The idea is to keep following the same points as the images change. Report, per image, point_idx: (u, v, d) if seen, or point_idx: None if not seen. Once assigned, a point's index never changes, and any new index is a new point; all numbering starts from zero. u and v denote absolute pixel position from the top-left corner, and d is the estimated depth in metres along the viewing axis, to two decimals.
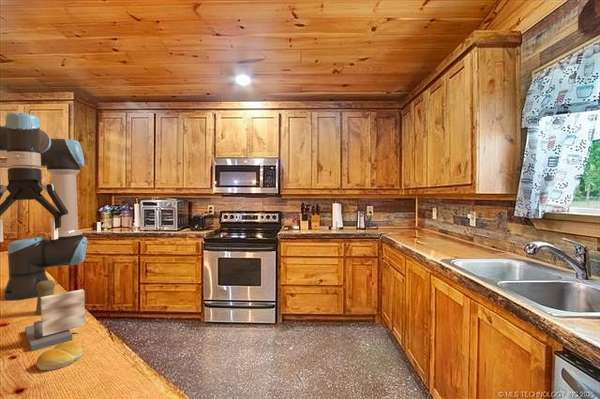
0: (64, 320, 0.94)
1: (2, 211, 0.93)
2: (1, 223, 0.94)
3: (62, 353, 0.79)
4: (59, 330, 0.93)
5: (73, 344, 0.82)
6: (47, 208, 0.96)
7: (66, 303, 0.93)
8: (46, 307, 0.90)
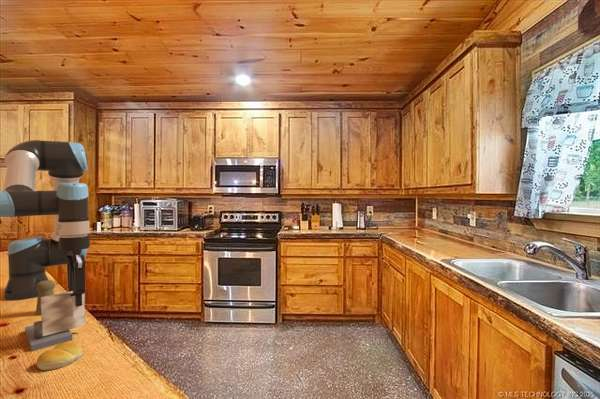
0: (64, 320, 0.94)
1: None
2: None
3: (62, 352, 0.79)
4: (59, 330, 0.93)
5: (73, 344, 0.83)
6: (72, 283, 0.94)
7: (66, 303, 0.93)
8: (46, 307, 0.90)
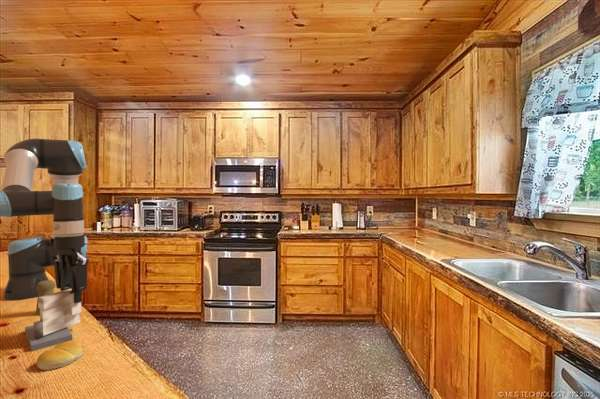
0: (62, 318, 0.95)
1: (67, 280, 0.99)
2: None
3: (62, 352, 0.79)
4: (58, 328, 0.94)
5: (73, 344, 0.83)
6: (71, 281, 0.96)
7: (65, 301, 0.95)
8: (47, 306, 0.91)
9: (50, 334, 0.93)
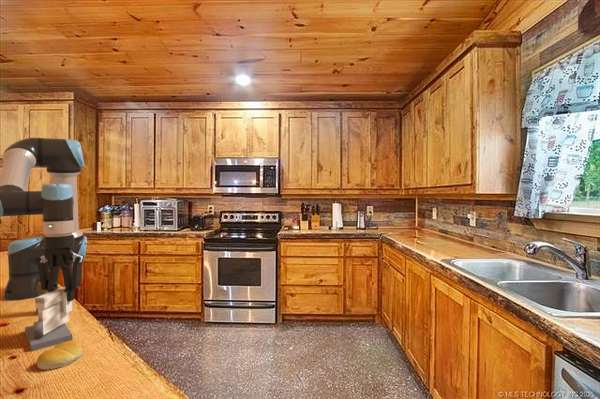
0: (56, 317, 0.96)
1: (55, 280, 0.99)
2: None
3: (62, 352, 0.79)
4: (53, 328, 0.95)
5: (73, 343, 0.83)
6: (65, 280, 0.98)
7: (59, 300, 0.96)
8: (47, 305, 0.92)
9: (50, 334, 0.93)
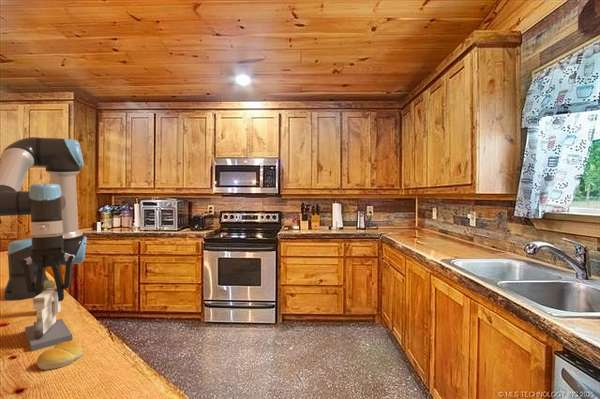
0: (49, 318, 0.96)
1: (42, 282, 0.98)
2: None
3: (62, 352, 0.79)
4: (47, 328, 0.95)
5: (73, 343, 0.83)
6: (56, 280, 0.98)
7: (52, 300, 0.96)
8: (46, 305, 0.92)
9: (50, 334, 0.93)
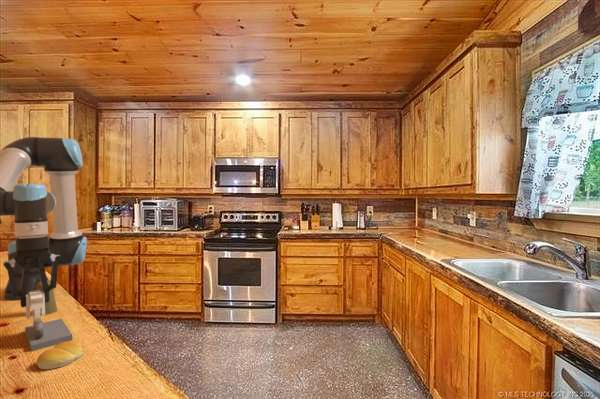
0: None
1: (26, 284, 0.95)
2: None
3: (62, 352, 0.79)
4: None
5: (73, 343, 0.83)
6: (43, 281, 0.97)
7: None
8: None
9: (50, 334, 0.93)
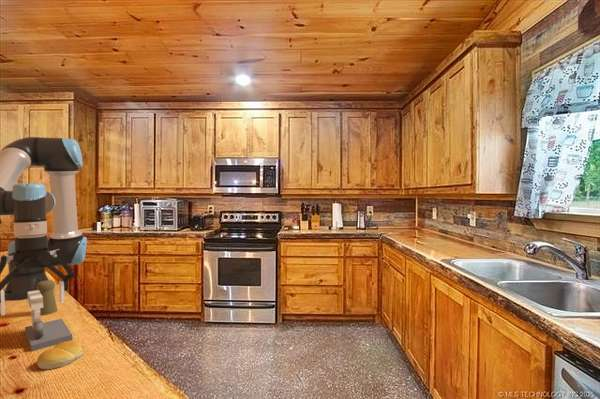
0: None
1: None
2: None
3: (62, 352, 0.79)
4: None
5: (73, 343, 0.83)
6: (57, 273, 0.99)
7: None
8: (42, 305, 0.92)
9: (50, 334, 0.93)
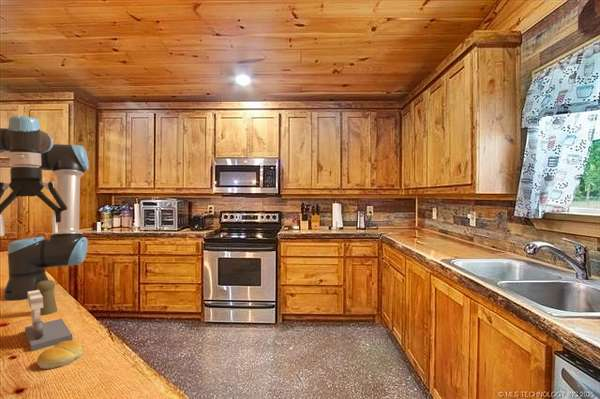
0: None
1: (4, 207, 1.01)
2: (3, 218, 1.01)
3: (63, 351, 0.80)
4: None
5: (73, 343, 0.83)
6: (48, 204, 1.04)
7: None
8: (42, 305, 0.92)
9: (50, 334, 0.93)
